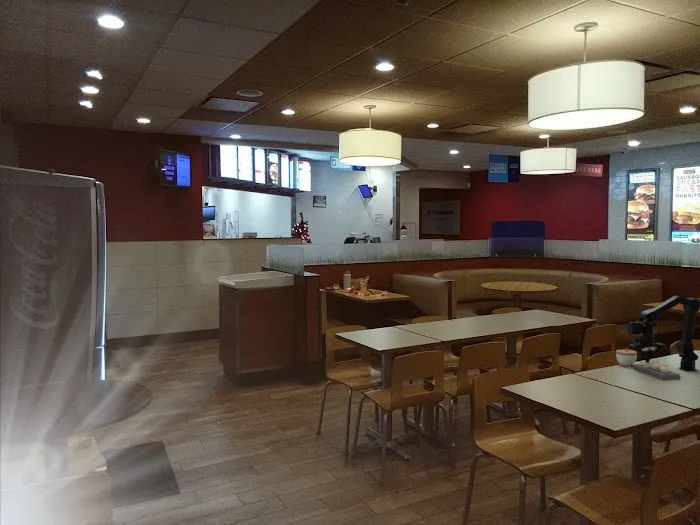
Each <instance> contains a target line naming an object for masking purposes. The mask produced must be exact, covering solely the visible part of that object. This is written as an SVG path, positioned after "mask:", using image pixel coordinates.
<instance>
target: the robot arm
mask: <svg viewBox="0 0 700 525" xmlns="http://www.w3.org/2000/svg"><path fill="white" fill-rule="evenodd" d="M678 305H682V310H683V312H684V318H683V326H682V332H681V339H680V340H679V341H676V342H675V344H676V345H675V350H676V353H677V354H678V357H679V358H680V364H679V365H680V367H678V369H680V370H683V371H686V372H694V371H695V372H697V371H698V369H696V361H698V359H699V355H698V354H697V353H696V352H695V351H694V350H695V348H694V344H693V333H694V329H695V328H694V327H695V322H696V321H695V319H696V315H697V314H698V312H699V311H700V300H699V299H698V298H693V297H682V296H679V295H673V296H672V297H670V298H669V299H666V300H665V301H663V302H662V303H660V304H659V305H657V306H655V307H653V308H649V309H646V310H643V311H641V313H640V314H639V315H640V316H639V317H638V319H637V320H636V321H635V322H633V321H629V324H627V327H626V331H627V333H628V335H634V336H632V337H631V342H632V343H630V344H629V345H628V350H633V351H636V352H641V353H642V356H643V358H644V362H647V363H648V362H651V359H652V357H653V355H654V354H655V353H657V352H658V351H657V349H660V350H661V351H666V350H667V346H666V344H664V343H662V342H654V341H655V339H656V336H654V335H655V332H654V331H655V327H659V324H657V323H656V321H657V320H658V319H659V318H660V316H662V314H665V313H666V312H667V311H669V310H671V309H672V308H674V307H676V306H678ZM635 335H640V336H639V337H637V336H635Z"/></svg>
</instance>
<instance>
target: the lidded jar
mask: <svg viewBox="0 0 700 525" xmlns="http://www.w3.org/2000/svg"><path fill="white" fill-rule="evenodd" d="M615 353H616V354H615V356H616V360H617V362H618V363H619V365H621V366H624V367H625V365H626V367H630V366H629V365H632V366H633V364H636V362H637V356H638V351H634V350H631V349H628V348H627V347H625V349H616V351H615Z"/></svg>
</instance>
